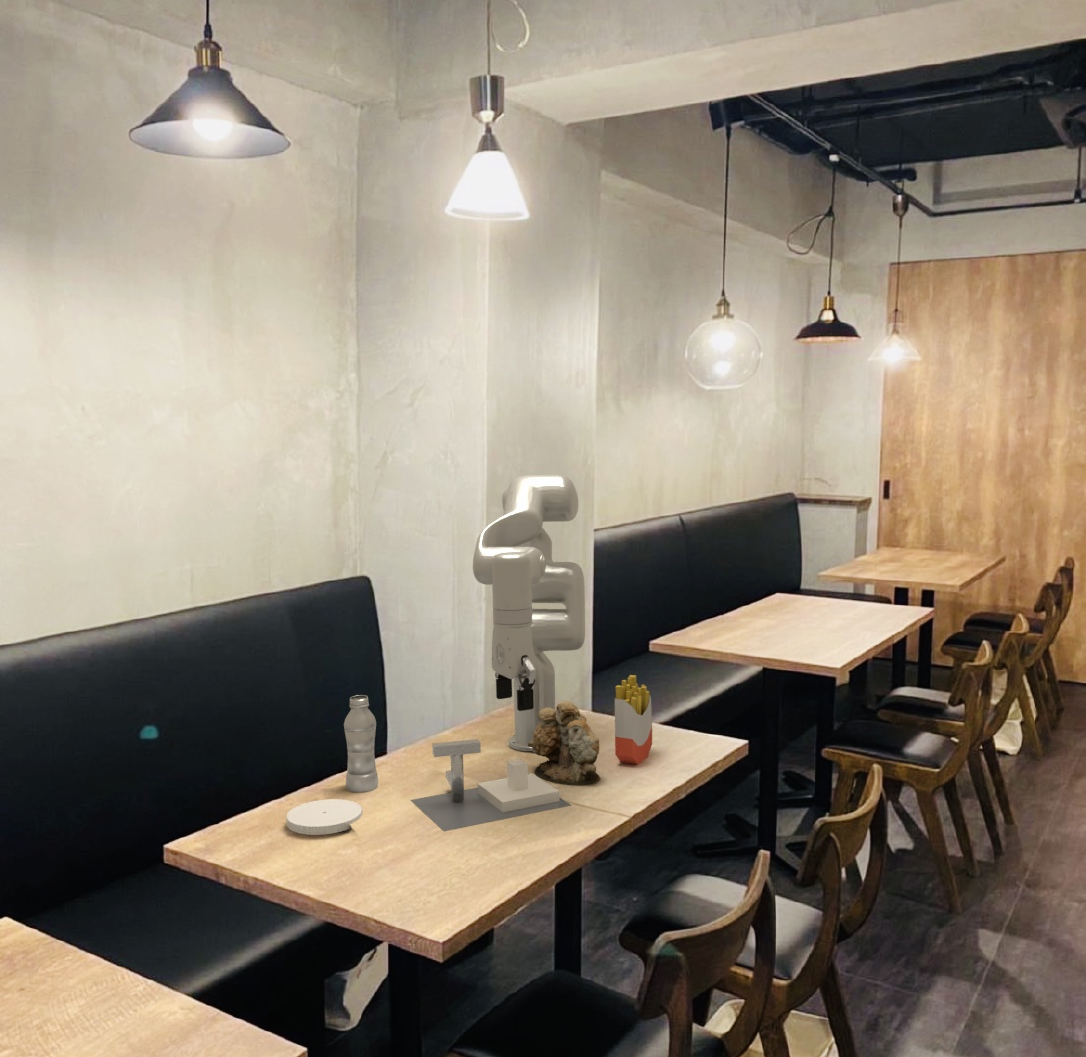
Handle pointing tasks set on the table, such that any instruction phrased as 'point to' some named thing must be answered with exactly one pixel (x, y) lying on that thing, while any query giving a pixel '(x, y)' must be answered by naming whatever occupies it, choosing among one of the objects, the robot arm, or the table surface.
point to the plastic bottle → (360, 746)
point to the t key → (456, 762)
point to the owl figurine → (565, 746)
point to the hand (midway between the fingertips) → (514, 703)
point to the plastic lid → (323, 816)
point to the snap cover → (518, 789)
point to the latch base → (471, 810)
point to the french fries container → (632, 722)
